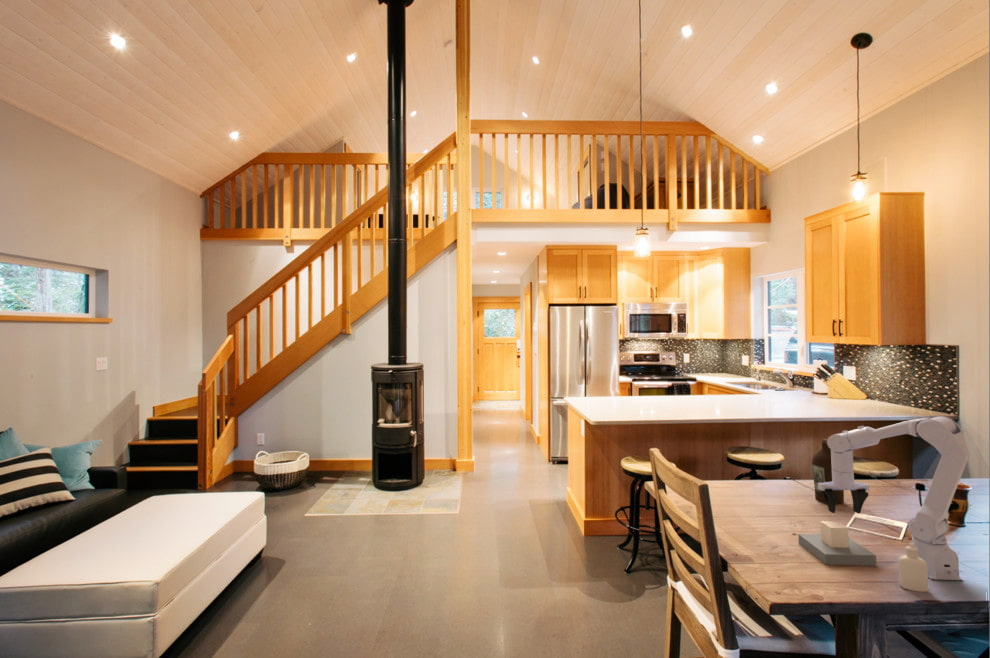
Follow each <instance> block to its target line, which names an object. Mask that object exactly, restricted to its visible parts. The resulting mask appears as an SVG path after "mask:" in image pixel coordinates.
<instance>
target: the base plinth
mask: <svg viewBox="0 0 990 658" xmlns="http://www.w3.org/2000/svg"><path fill="white" fill-rule="evenodd" d="M848 539H849V548H832V547H830V546H829V545H827V544H826V543H824V542H823V541H822V540H821V533H820V534H817V533H816V534H815V533H814V534H813V533H798V544H799V545H801V546H802V547H803V548H804V549H805V550H807V551H808V552H809V553H810V554H812V555H813V556H814V557H816V558H817V559H818V560H819V561H821V563H823V564H824V565H827V566H829V565H836V566H837V565H838V566H874V567H876V566H877V554H874V553H873V552H871V551H870V550H868V549H867V548H866V547H864V546H862V545H861V544H859V543H858V542H856V541H855V540H853V539H852V538H850V537H848Z"/></svg>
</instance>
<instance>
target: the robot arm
mask: <svg viewBox="0 0 990 658" xmlns="http://www.w3.org/2000/svg"><path fill="white" fill-rule="evenodd" d="M901 435H910V436H913V437H916V438H917V437H920V438H921V439H923V440H924V441H925V442H926V443H928V444H930V445H931V446H932V447H934V448H935V449H936V451H938V453H939V454H940V455H941V456H940V459H939V462H938V464H937V466H936V469H935V472H934V475H933V478H932V481H931V483H930V486H929V487H928V491H927V493H926V497H925V499H924V502H923V504H922V506H920V508H919V510H918V511H917V512H916V515H915V516H914V517H913V518H911V519H910V520H909V521H908V522H907V523H908V525H907V528H908V530H909V532H910V534H911V538H912V539H911V540H912V542H911V543H913V544H914V547H915V548H917V549H918V557H919V558H921V559H923V560H924V561H925V562H926V563H927V572H928V579H930V580H939V581H940V580H941V581H942V580H943V581H944V580H946V581H961V580H960V579H963V580H964V578H963V577H961V576H960V565H959V563H960V562H959V556H958V554H957V553H956V551H954V550H953V549H952V548H951V547H950V546H949V544H948V541H947V540H948V539H947V538H946V536H945V534H947V532H949V530H950V524H949V520H948V519H949V516H950V513H949V508H950V506H951V504H952V501H953V498H954V496H955V493H956V491H957V489H958V486H959V484H960V481H961V479H962V476H963V473H964V471H965V468H966V465H967V463H968V460H969V458H970V451H969V448H968V446H967V442H966V441H965V438H964V436H963V429H962V428H961V426H959V424H958V423H957V422H956V421H955V420H953V419H952V418H950V417H949V416H944V415H937V416H933V417H932V418H930V417H923V418H916V419H909V420H905V421H901V422H898V423H894V424H891V425H886V426H883V427H879V428H876V429H875V428H873V427H870V426H864V425H860V426H857V428H855V429H852V430H849V431H848V430H847V429H846V430H842V432H841V433H834V434H832V435H830V436H828V438H827V439H828V440H827V444H828V447H829V448H830V449H831V464H832V482H824V483H818V489H820V492H821V493H822V495H823V496H824V498H825V500H826V503H827V504H826V503H825V504H826V505H827V508H828V512H830V513H831V514H836V505H835V500H836V496H837V494H835V493H834V492H833V491H832V490H844V491H850V494H851V498H852V509H853V512H854V513H855V512H856V513H858V514H860V513H861V512H862V508H863V505H864V503H865V502H866V500H867V498H868V497H869V491H870V485H869V484H867V483H864V482H855V475H854V473H855V472H854V454H853V453H854V452H853V451H854V450H858V449H863V448H868V447H872V446H876V445H878V444H879V443H880V441H881V440H883V439H887V438H892V437H896V436H898V437H899V436H901Z"/></svg>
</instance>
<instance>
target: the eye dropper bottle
mask: <svg viewBox="0 0 990 658" xmlns="http://www.w3.org/2000/svg"><path fill="white" fill-rule="evenodd" d="M897 562H898V565H897V566H898V583H899V585H900V587H901V588H903V589H905V590H909V591H912V592H913V591H914V592H920V593H926V592H928V591H929V577H928V572H927V563H926V562H925V561H924V560H923V559H921V558H919V557H918V549H917V548H915V547H914V544H913V543H912V542H909V544H908V545H907V546H905V554H904V555H903V554H902V555H899V557H898V560H897Z"/></svg>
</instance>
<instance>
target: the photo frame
mask: <svg viewBox="0 0 990 658" xmlns="http://www.w3.org/2000/svg"><path fill="white" fill-rule="evenodd" d="M855 519H858V520H862V521H865V522H871V523H876V524H880V525H885V526H888V527H889V526H890V527H895V528H898V527H899V528H900V529H902V530H901V533H900V536H899V537H896V536H892V535H886V534H882V533H879V532H874V531H870V530H867V529H866V530H865V529H859V528H857V527H852V524H853V522H854V521H855ZM908 523H909V522H903V521H899V520H894V519H890V518H885V517H880V516H875V515H870V514H867V513H861V512H860V514H858V513H856V512H854V514H853V515H852V517H851V518H850V520H849V522H847V524H846V525H845V526H846V527H847V528H848V530H853V531H856V532H857V531H858V532H861V533H866V534H869V535H870V534H871V535H875V536H880V537H882V538H883V537H884V538H887V539H893V540H895V539H896V541H900V540H901V541H900V542H902V541H903V539H904V536H905V534H906V530H907V528H908Z"/></svg>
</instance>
